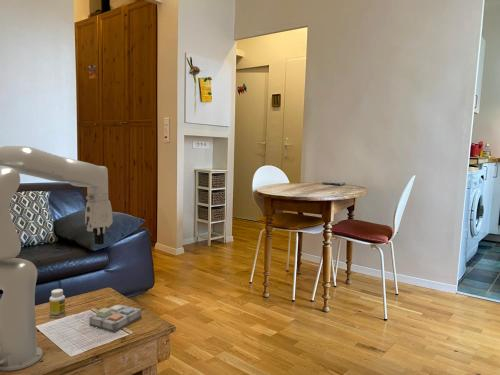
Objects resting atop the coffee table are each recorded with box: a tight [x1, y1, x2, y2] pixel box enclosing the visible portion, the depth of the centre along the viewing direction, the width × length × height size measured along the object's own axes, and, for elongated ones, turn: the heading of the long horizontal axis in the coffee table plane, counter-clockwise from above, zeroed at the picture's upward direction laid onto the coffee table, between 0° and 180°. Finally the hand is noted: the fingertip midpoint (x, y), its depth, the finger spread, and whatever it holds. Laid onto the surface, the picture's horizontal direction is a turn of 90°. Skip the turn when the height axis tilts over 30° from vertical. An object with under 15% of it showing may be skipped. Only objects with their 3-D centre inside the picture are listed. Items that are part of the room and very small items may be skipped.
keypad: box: [88, 303, 142, 334], centre depth 146 cm, size 14×12×3 cm
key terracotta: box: [109, 314, 123, 322], centre depth 142 cm, size 3×3×3 cm
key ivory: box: [109, 304, 123, 312], centre depth 149 cm, size 3×3×3 cm
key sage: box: [96, 307, 111, 318], centre depth 144 cm, size 3×3×3 cm
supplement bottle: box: [49, 288, 66, 318], centre depth 150 cm, size 5×5×10 cm
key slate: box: [121, 308, 134, 315], centre depth 147 cm, size 3×3×3 cm
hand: (99, 243), depth 153 cm, fingers closed
